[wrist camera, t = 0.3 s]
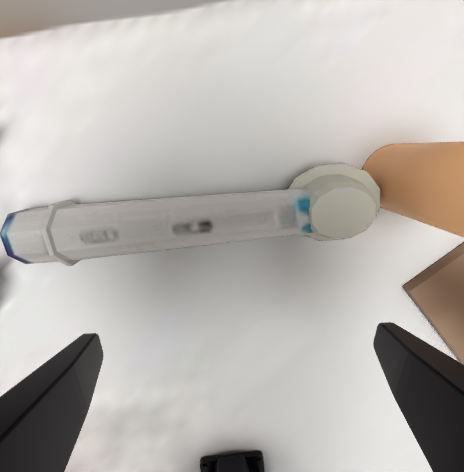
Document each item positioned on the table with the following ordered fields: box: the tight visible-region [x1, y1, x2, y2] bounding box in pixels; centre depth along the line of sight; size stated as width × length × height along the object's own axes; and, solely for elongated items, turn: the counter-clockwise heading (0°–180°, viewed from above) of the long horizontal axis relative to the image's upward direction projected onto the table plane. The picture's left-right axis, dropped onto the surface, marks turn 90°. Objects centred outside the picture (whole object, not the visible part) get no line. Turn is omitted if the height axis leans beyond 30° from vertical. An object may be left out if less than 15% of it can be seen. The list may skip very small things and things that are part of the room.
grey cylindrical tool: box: [0, 163, 380, 266], centre depth 20 cm, size 5×7×25 cm
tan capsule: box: [362, 142, 464, 237], centre depth 16 cm, size 5×5×13 cm
